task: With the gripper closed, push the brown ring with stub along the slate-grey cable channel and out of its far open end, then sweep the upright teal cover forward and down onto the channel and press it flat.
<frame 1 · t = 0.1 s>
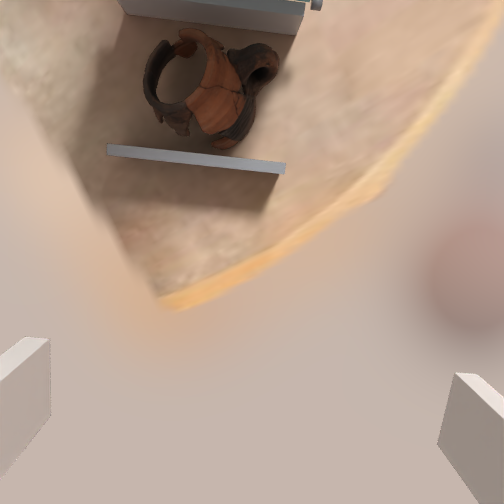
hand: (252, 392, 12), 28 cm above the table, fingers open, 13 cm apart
channel: (207, 92, 36), on the table
brown ring with stub: (218, 95, 36), on the table
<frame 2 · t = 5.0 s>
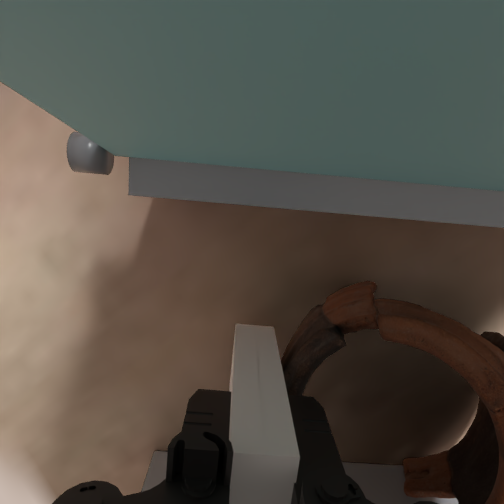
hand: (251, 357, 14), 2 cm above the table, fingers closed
channel: (344, 343, 16), on the table
brown ring with stub: (403, 363, 16), on the table, touching gripper
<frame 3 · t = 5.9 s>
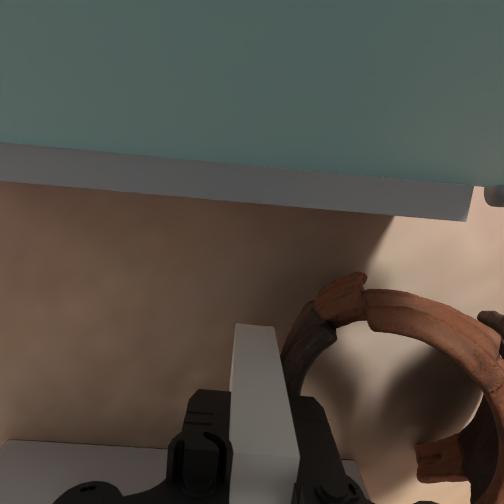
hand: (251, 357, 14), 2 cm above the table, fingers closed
channel: (192, 330, 16), on the table
brown ring with stub: (404, 349, 16), on the table, touching gripper
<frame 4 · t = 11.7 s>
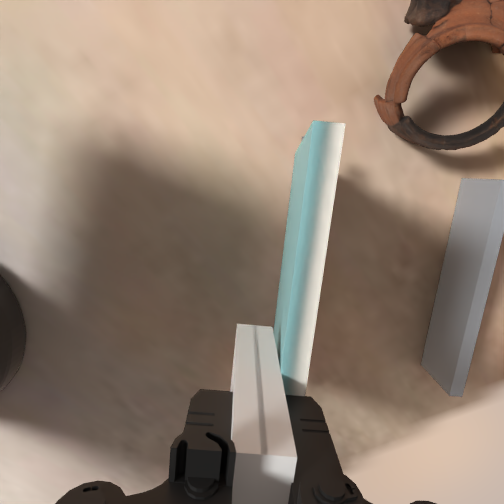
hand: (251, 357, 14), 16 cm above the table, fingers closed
cover: (286, 319, 18), point 12 cm above the table, hinge at 96.4°, touching gripper
channel: (368, 270, 30), on the table
brown ring with stub: (424, 65, 27), on the table
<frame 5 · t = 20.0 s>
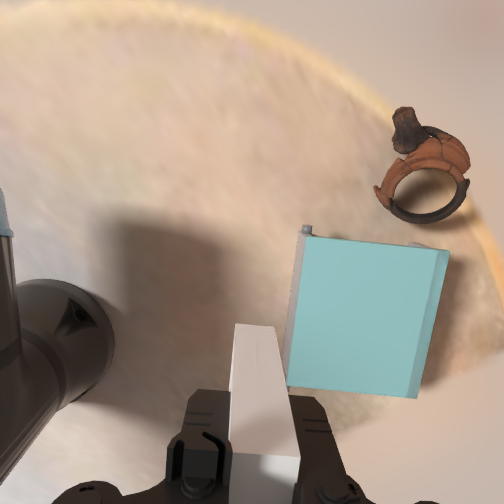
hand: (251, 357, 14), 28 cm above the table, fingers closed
cover: (363, 320, 39), point 5 cm above the table, hinge at 2.1°
channel: (347, 302, 44), on the table
brown ring with stub: (406, 163, 41), on the table
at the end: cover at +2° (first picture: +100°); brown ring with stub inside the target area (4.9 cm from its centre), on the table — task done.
